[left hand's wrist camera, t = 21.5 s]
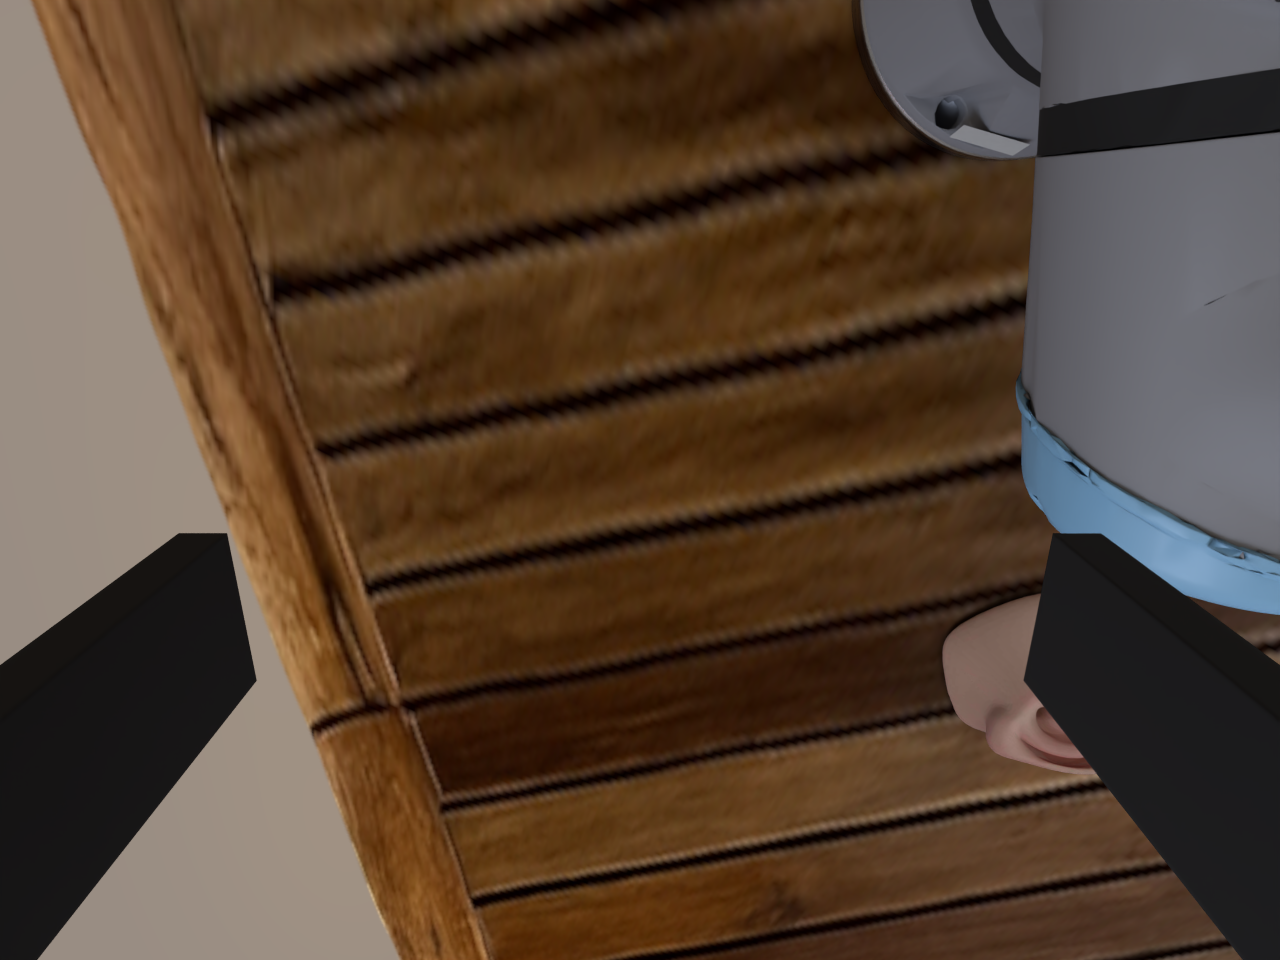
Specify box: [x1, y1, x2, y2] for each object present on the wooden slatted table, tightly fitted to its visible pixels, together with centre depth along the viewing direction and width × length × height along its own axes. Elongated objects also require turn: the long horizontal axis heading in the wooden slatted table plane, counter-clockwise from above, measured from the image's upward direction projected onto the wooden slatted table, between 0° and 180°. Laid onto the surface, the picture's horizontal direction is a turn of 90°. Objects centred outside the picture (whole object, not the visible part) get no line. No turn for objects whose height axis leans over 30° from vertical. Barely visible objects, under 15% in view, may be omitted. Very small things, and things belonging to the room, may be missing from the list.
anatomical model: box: [943, 594, 1096, 774], centre depth 47 cm, size 13×4×12 cm
